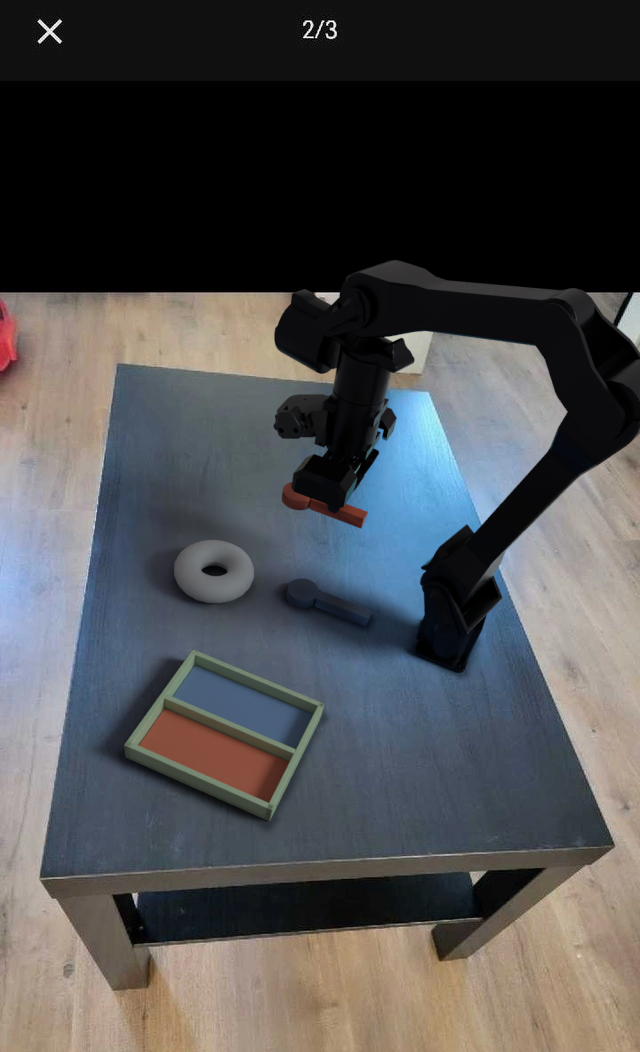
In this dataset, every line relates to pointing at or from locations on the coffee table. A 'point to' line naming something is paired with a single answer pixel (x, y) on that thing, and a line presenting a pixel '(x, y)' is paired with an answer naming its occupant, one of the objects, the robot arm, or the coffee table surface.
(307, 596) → the blue spoon
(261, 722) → the tray
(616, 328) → the robot arm
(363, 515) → the red spoon
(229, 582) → the donut
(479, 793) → the coffee table surface
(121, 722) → the coffee table surface
